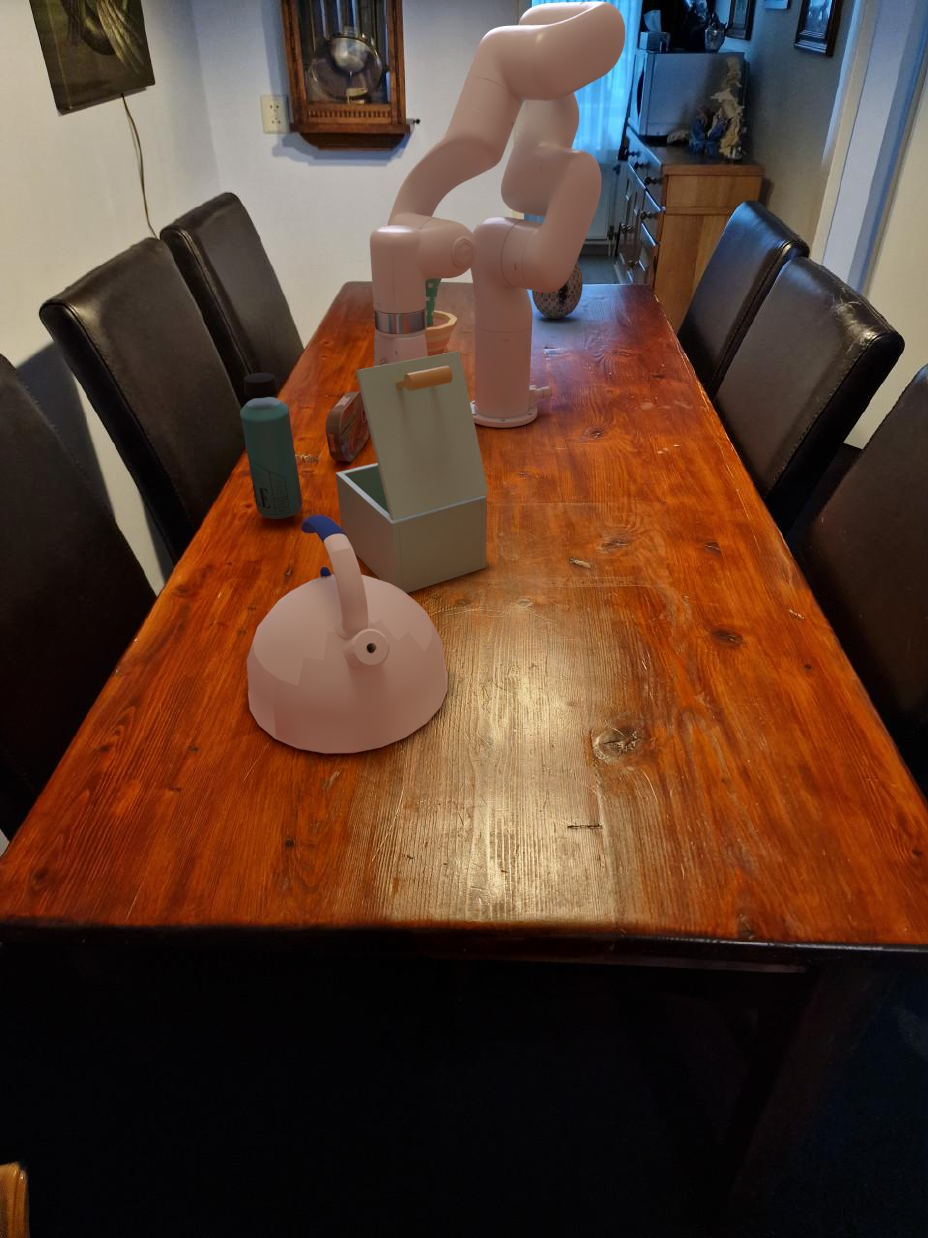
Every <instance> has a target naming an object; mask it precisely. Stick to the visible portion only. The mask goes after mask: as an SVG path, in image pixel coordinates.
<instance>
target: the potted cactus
mask: <svg viewBox="0 0 928 1238" xmlns="http://www.w3.org/2000/svg"><path fill="white" fill-rule="evenodd" d="M442 279H443V278H440V279H427V280H426V281H425V293H426V323H427V331H426V332H425V333H424V334H425V338H426V345H427V352H428V356H433V355H439V354H443V352H444V350H445V348H446V346H447V345H448V344H449V341H450V339H451V336H452V332H454V330H455V329H456V327H457V323H458V318H457V317H456V315H454V314H453V313H451V312H446V311H443V310H437V309H435V306H436V301H437V295H438V290H439V287H440V284H441V282H442Z"/></svg>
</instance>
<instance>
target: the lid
mask: <svg viewBox="0 0 928 1238" xmlns="http://www.w3.org/2000/svg"><path fill="white" fill-rule="evenodd" d="M355 375H356V379H357V383H358V388H359V392H361V396H362V400H363V404H364V409H365V413H366V417H367V421H368V426H369V430H370V434H369V435H370V438H371V442H372V447H373V450H374V455H375V459H376V463H377V464H378V468H379V472H380V476H381V480H382V485H383V489H384V493H385V497H386V501H387V506H388V510H389V514H390V518H391V520H397V519H401V518H404V517H408V516H411V515H415V514H418V513H422V512H425V511H429V510H433V509H436V508H440V507H443V506H447V505H450V504H454V503H458V502H461V501H465V500H468V499H472V498H475V497H479V496H482V495H485V496H486V495H489V488H488V483H487V479H486V473H485V468H484V463H483V459H482V453H481V449H480V443H479V439H478V433H477V430H476V423H474V419H473V414H472V409H471V404H470V403H471V400H470V395H469V390H468V386H467V379H466V375H465V371H464V365H463V361H462V356H461V351H460V350H455V351H450V352H449V351H448V352H445V353H441V354H439V355H433V356H428V357H423V358H418V359H412V360H407V361H402V362H396V363H391V364H386V365H381V366H375V367H374V366H370V367H365V368H361V369H357V370H355Z"/></svg>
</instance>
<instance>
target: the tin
mask: <svg viewBox="0 0 928 1238" xmlns="http://www.w3.org/2000/svg"><path fill="white" fill-rule="evenodd" d="M370 435H371V434H370V430H369V426H368V421H367V417H366V413H365V409H364V404H363V400H362V396H361V392H360V391H347V392H345V393H344V394H343V395H342V397H341V398H339V400H338V401H337V402H336V403H335V404H334V406H333V407H332V408H330V410H329V412H328V414H327V417H326V421H325V436H326V442H327V447H328V452H329V456H330V458H331V459H332V460H333V461H335V462H348V463H351V462H353V461H354V460H355V458H356V457H357V456H358V454H359V453H360V452H361V450H362V449H363V447H364V446H365V445H366V443H367V442H368V440H369V438H370Z"/></svg>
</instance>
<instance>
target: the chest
mask: <svg viewBox="0 0 928 1238" xmlns="http://www.w3.org/2000/svg"><path fill="white" fill-rule="evenodd" d="M335 478H336V479H335V480H336V488H337V489H336V490H337V498H338V508H339V517H340V518H339V520H340V528H341V529H342V530H343V532H344V533H345V534H346V537H347V539H348V540H349V542H350V544H351V546H352V548H353V550H354V553H355V556H356V557H358V559H360V561H362V562H363V563H364V564H365V566H366V567H368V569H369V570H371V572H372V573H373V574H374V575H375V576H376V577H377V579H378V580H381V581H384V582H387V583H390V584H392V585H394V586H396V587H397V588H399V589H401V590H402V591H404V592H405V593H406V594H409V593H413V592H415V591H418V590H422V589H424V588H427V587H430V586H434V585H437V584H441V583H443V582H446V581H449V580H452V579H456V578H459V577H462V576H464V575H467V574H468V575H469V574H471V573H473V572H477V571H480V570H483V569H486V568H487V539H488V537H487V535H488V533H487V532H488V528H487V527H488V497H487V496H486V495H482V496H479V497H475V498H472V499H468V500H465V501H461V502H458V503H454V504H450V505H447V506H443V507H440V508H436V509H433V510H429V511H425V512H422V513H418V514H415V515H411V516H408V517H404V518H401V519H397V520H391V518H390V514H389V510H388V506H387V501H386V497H385V493H384V489H383V485H382V480H381V476H380V472H379V468H378V464H377V462H375V463H370V464H366V465H362V466H358V467H354V468H351V469H346V470H342V471H338V472H335Z"/></svg>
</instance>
